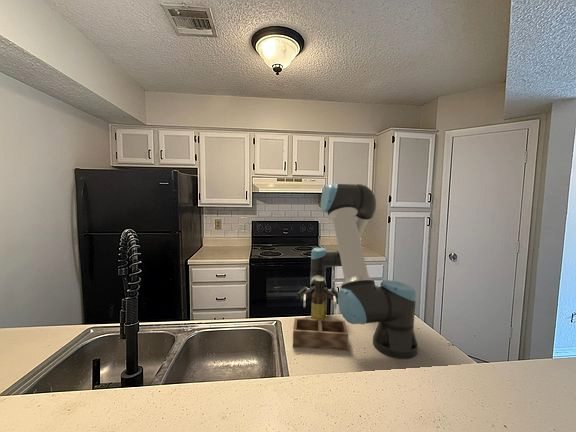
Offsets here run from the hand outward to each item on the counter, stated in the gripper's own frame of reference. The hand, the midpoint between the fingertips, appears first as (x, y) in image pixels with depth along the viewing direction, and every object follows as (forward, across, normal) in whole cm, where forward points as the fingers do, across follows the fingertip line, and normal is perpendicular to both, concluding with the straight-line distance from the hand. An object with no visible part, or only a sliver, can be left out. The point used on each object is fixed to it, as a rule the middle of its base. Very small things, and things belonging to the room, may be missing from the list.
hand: (319, 304), depth 108 cm
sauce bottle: (-4, 0, -11) cm, 12 cm away
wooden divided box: (+7, 0, -11) cm, 13 cm away
